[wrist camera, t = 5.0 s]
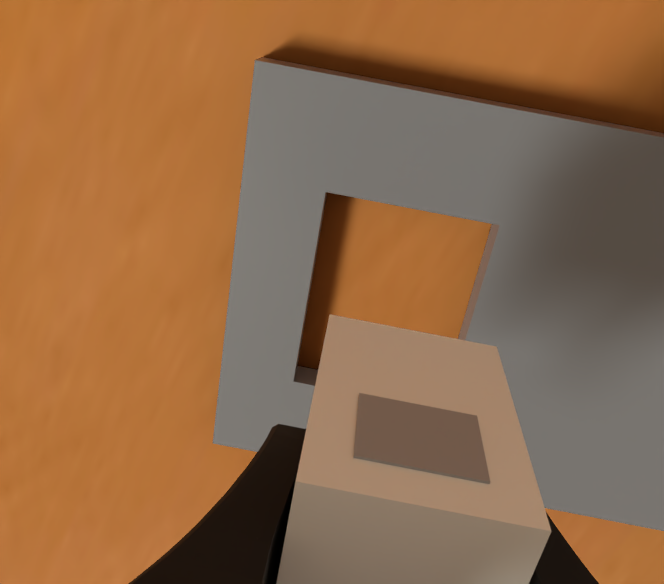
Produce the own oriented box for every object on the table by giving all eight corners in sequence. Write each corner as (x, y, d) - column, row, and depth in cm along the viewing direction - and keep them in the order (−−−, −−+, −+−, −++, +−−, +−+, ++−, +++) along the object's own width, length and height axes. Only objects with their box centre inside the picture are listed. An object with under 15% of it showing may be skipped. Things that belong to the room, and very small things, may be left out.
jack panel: (863, 551, 23) (888, 580, 22) (219, 426, 23) (210, 448, 22) (1108, 217, 18) (1160, 233, 16) (262, 56, 18) (252, 61, 17)
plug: (415, 593, 16) (424, 823, 12) (281, 566, 16) (238, 786, 12) (497, 344, 13) (552, 528, 8) (330, 312, 13) (295, 478, 8)
